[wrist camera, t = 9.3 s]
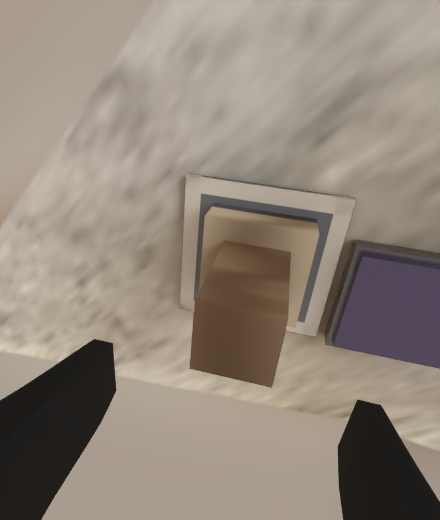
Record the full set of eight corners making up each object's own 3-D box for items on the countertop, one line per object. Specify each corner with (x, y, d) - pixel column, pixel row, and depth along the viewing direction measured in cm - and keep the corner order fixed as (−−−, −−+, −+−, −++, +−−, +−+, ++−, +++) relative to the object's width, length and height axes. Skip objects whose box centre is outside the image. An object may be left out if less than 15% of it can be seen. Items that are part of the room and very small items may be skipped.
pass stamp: (317, 219, 16) (329, 299, 10) (295, 305, 18) (294, 413, 12) (214, 202, 17) (165, 268, 10) (206, 287, 19) (163, 381, 13)
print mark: (355, 198, 15) (356, 200, 15) (315, 333, 19) (315, 336, 19) (187, 173, 16) (186, 174, 16) (181, 305, 20) (179, 308, 20)
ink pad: (487, 261, 15) (501, 273, 14) (436, 358, 18) (444, 374, 17) (353, 239, 16) (357, 249, 15) (324, 335, 19) (325, 349, 18)
